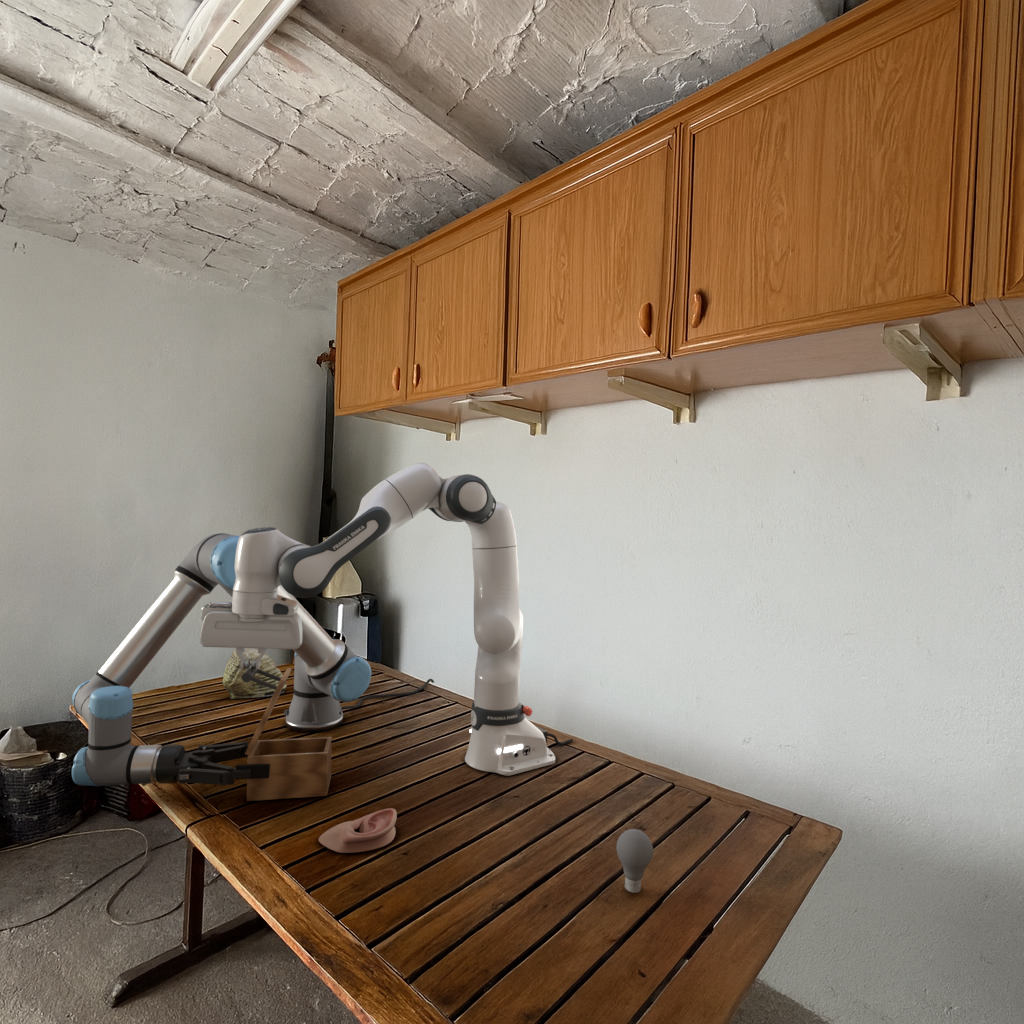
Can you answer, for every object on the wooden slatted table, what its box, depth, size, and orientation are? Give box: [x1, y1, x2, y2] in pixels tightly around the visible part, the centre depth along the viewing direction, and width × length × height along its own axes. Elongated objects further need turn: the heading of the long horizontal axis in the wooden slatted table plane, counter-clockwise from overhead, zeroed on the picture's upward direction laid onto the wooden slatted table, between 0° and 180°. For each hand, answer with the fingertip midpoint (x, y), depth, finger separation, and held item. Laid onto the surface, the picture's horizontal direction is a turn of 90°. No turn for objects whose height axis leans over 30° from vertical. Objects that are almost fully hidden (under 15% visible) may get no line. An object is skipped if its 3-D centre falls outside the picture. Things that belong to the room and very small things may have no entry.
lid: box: [242, 665, 293, 755], centre depth 135 cm, size 17×9×8 cm
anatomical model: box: [318, 807, 398, 854], centre depth 118 cm, size 13×4×12 cm
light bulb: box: [615, 828, 654, 894], centre depth 106 cm, size 6×6×10 cm
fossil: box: [222, 648, 288, 699], centre depth 198 cm, size 9×18×15 cm, turn 132°
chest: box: [246, 736, 333, 802], centre depth 136 cm, size 16×9×9 cm, turn 101°
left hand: (273, 760), depth 136 cm, fingers closed on chest, 9 cm apart
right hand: (250, 668), depth 134 cm, fingers closed, pressing on lid
